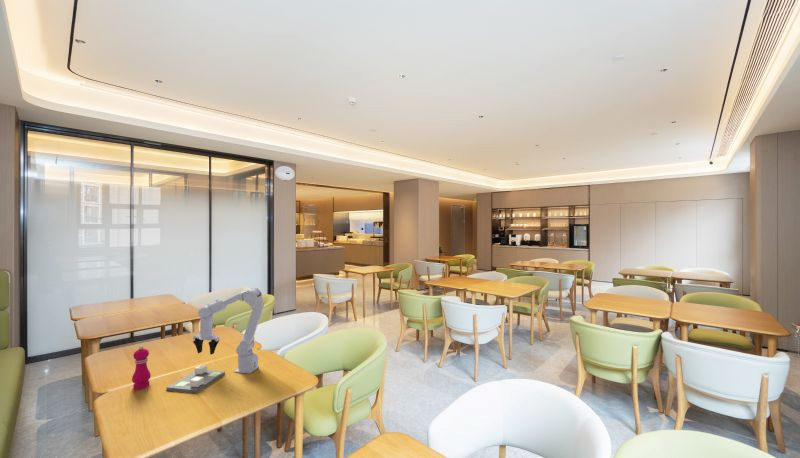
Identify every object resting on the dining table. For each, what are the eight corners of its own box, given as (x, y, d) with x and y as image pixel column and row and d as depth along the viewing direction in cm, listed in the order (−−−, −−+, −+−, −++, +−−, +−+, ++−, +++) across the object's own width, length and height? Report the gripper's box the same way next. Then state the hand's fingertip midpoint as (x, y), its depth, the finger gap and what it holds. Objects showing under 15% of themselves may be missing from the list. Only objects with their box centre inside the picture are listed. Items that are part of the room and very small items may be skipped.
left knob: (203, 383, 163) (203, 377, 163) (197, 387, 159) (197, 380, 159) (196, 382, 164) (196, 376, 164) (190, 386, 160) (190, 380, 160)
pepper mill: (140, 391, 159) (140, 349, 159) (128, 389, 161) (127, 348, 160) (154, 383, 166) (154, 343, 166) (142, 382, 168) (142, 342, 167)
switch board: (225, 374, 177) (225, 371, 177) (196, 393, 157) (196, 389, 157) (198, 372, 180) (198, 368, 180) (166, 390, 160) (166, 386, 160)
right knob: (207, 371, 176) (207, 365, 176) (201, 374, 172) (201, 368, 172) (200, 370, 177) (200, 364, 177) (194, 373, 173) (194, 368, 173)
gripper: (188, 329, 178) (188, 354, 178) (212, 331, 175) (212, 357, 176) (199, 325, 185) (198, 349, 185) (222, 327, 182) (221, 352, 183)
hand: (206, 353), depth 181 cm, fingers open, 7 cm apart
